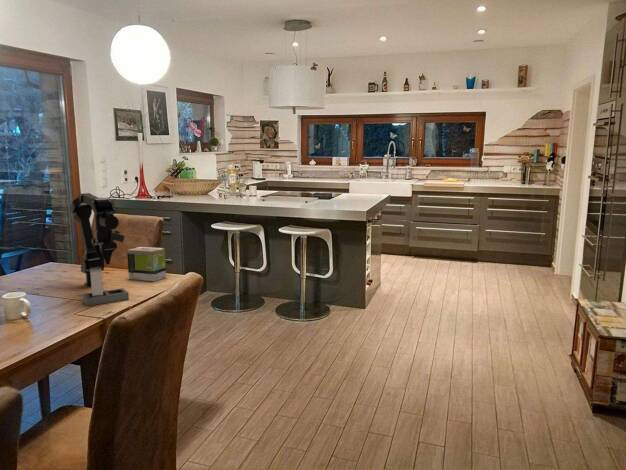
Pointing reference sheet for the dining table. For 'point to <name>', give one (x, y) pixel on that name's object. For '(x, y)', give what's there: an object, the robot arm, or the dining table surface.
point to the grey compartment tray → (106, 297)
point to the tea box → (146, 263)
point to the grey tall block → (96, 281)
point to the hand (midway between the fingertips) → (105, 262)
